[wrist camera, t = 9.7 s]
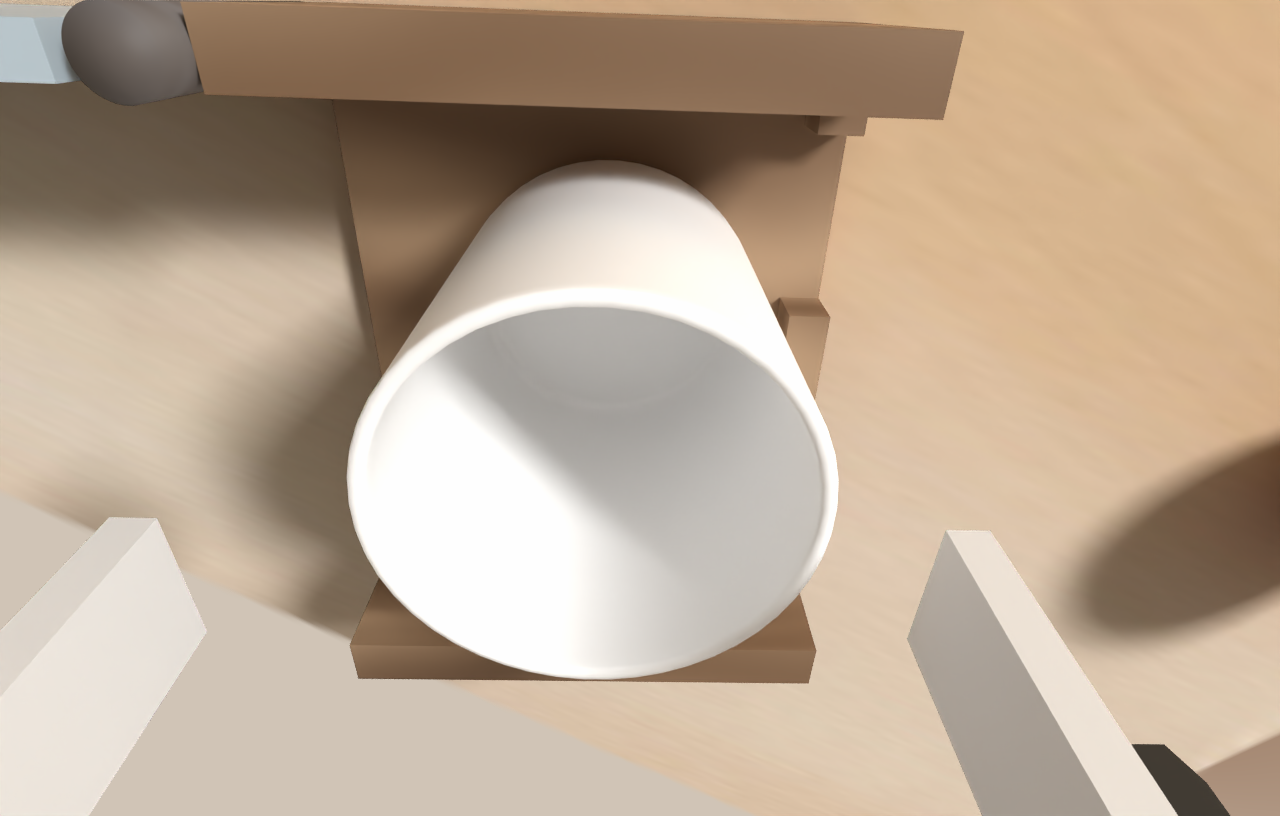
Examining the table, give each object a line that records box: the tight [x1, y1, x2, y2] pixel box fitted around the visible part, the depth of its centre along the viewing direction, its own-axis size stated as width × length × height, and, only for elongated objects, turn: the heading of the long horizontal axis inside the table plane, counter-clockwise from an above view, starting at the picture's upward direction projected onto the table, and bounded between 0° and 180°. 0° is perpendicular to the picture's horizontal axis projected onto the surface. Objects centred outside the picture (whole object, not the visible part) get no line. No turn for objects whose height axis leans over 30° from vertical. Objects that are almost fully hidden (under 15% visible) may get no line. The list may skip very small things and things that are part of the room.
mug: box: [347, 160, 839, 679], centre depth 17 cm, size 9×12×11 cm
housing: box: [61, 0, 964, 683], centre depth 19 cm, size 18×16×8 cm
